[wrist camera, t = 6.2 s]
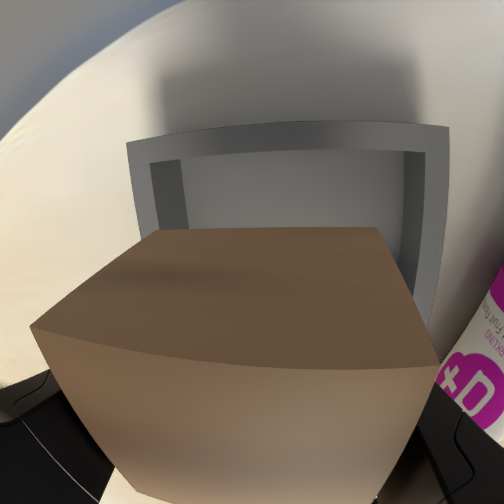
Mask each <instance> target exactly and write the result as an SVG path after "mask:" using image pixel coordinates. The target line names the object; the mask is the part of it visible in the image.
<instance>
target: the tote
mask: <svg viewBox="0 0 504 504" xmlns="http://www.w3.org/2000/svg"><path fill="white" fill-rule="evenodd" d="M126 146H127V154H128V162H129V169H130V176H131V183H132V190H133V196H134V202H135V208H136V214H137V219H138V225H139V230H140V235H141V240H142V239H144V238H145V237H147V236H148V235H150V234H151V233H152V232H154V231H155V230H175V229H211V228H262V227H377V228H378V230H379V232H380V234H381V236H382V237H383V239H384V241H385V243H386V245H387V247H388V249H389V251H390V252H391V254H392V256H393V258H394V260H395V262H396V264H397V266H398V268H399V270H400V272H401V274H402V276H403V278H404V280H405V282H406V285H407V287H408V289H409V291H410V293H411V295H412V297H413V300H414V302H415V304H416V306H417V308H418V311H419V313H420V315H421V317H422V320H423V322H424V324H425V327H426V329H427V327H428V323H429V319H430V315H431V310H432V306H433V301H434V296H435V291H436V286H437V281H438V275H439V269H440V263H441V257H442V250H443V242H444V234H445V225H446V215H447V203H448V187H449V127H444V126H435V125H425V124H413V123H398V122H378V121H300V122H279V123H264V124H251V125H240V126H230V127H221V128H212V129H204V130H197V131H190V132H183V133H176V134H170V135H164V136H158V137H153V138H147V139H142V140H137V141H132V142H127V143H126Z"/></svg>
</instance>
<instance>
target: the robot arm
mask: <svg viewBox="0 0 504 504" xmlns="http://www.w3.org/2000/svg"><path fill="white" fill-rule="evenodd" d="M114 468H115V466H114V465H113V463H112V462H111V461H110V460H109V458H108V457H107V456H106V454H105V453H104V452H103V451H102V449H101V448H100V447H99V445H98V444H97V443H96V441H95V440H94V438H93V437H92V436H91V434H90V433H89V431H88V430H87V429H86V427H85V426H84V424H83V423H82V421H81V420H80V418H79V417H78V415H77V414H76V412H75V410H74V409H73V407H72V406H71V404H70V403H69V401H68V399H67V398H66V396H65V394H64V393H63V391H62V389H61V388H60V386H59V384H58V382H57V381H56V379H55V377H54V375H53V373H52V372H51V370H50V369H48V370H46V371H44V372H42V373H39V374H37V375H35V376H33V377H30V378H28V379H26V380H23V381H21V382H18V383H15V384H13V385H10V386H7V387H5V388H2V389H0V504H99V503H98V502H100V500H101V497H102V495H103V493H104V491H105V488H106V486H107V484H108V482H109V479H110V477H111V475H112V473H113V471H114ZM371 504H504V448H503V447H502V446H501V445H499V444H498V443H497V442H496V441H495V440H494V439H493V438H492V437H490V436H489V435H488V434H487V433H486V432H485V431H484V430H483V429H482V428H481V427H480V426H479V425H478V424H477V423H476V422H475V421H474V420H473V419H472V418H471V417H470V416H469V415H468V414H467V413H466V412H465V411H463V409H462V408H461V407H460V406H459V405H458V404H457V403H456V402H455V401H454V400H453V399H452V398H451V397H450V396H449V395H448V394H447V393H446V392H445V391H444V390H443V389H442V388H441V387H440V386H439V385H438V384H437V383H436V382H434V385H433V387H432V390H431V392H430V395H429V397H428V399H427V402H426V404H425V406H424V409H423V411H422V413H421V415H420V418H419V420H418V422H417V424H416V426H415V428H414V430H413V432H412V434H411V436H410V438H409V440H408V442H407V444H406V446H405V448H404V450H403V452H402V454H401V455H400V457H399V459H398V461H397V463H396V464H395V466H394V468H393V470H392V471H391V473H390V475H389V477H388V478H387V480H386V481H385V483H384V485H383V486H382V488H381V490H380V491H379V493H378V494H377V498H375V499H374V500H373V502H372V503H371Z"/></svg>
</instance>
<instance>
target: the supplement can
mask: <svg viewBox="0 0 504 504" xmlns="http://www.w3.org/2000/svg"><path fill="white" fill-rule="evenodd" d="M435 382H436V383H437V384H438V385H439V386H440V387H441V388H442V389H443V390H444V391H445V392H446V393H447V394H448V395H449V396H450V397H451V398H452V399H453V400H454V401H455V402H456V403H457V404H458V405H459V406H460V407H461V408H462V409H463V411H465V412H466V413H467V414H468V415H469V416H470V417H471V418H472V419H473V420H474V421H475V422H476V423H477V424H478V425H479V426H480V427H481V428H482V429H483V430H484V431H485V432H486V433H487V434H488V435H489V436H490V437H492V438H493V439H494V440H495V441H496V442H497V443H499V442H500V441H501V440H502V439H503V438H504V261H503V264H502V266H501V268H500V270H499V272H498V274H497V276H496V277H495V279H494V281H493V283H492V285H491V287H490V289H489V291H488V292H487V294H486V296H485V298H484V299H483V301H482V303H481V305H480V306H479V308H478V310H477V311H476V313H475V315H474V316H473V318H472V320H471V321H470V323H469V324H468V326H467V327H466V329H465V331H464V332H463V334H462V335H461V337H460V338H459V340H458V341H457V343H456V344H455V345H454V347H453V348H452V350H451V351H450V353H449V354H448V355H447V357H446V358H445V359H444V361H443V362H442V364H441V366H440V369H439V372H438V374H437V377H436V380H435Z"/></svg>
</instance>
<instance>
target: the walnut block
mask: <svg viewBox="0 0 504 504" xmlns="http://www.w3.org/2000/svg"><path fill="white" fill-rule="evenodd" d="M29 327H30V329H31V331H32V333H33V336H34V338H35V340H36V342H37V344H38V346H39V348H40V350H41V352H42V354H43V356H44V358H45V360H46V362H47V364H48V366H49V368H50V370H51V372H52V373H53V375H54V377H55V379H56V381H57V382H58V384H59V386H60V388H61V389H62V391H63V393H64V394H65V396H66V398H67V399H68V401H69V403H70V404H71V406H72V407H73V409H74V410H75V412H76V414H77V415H78V417H79V418H80V420H81V421H82V423H83V424H84V426H85V427H86V429H87V430H88V431H89V433H90V434H91V436H92V437H93V438H94V440H95V441H96V443H97V444H98V445H99V447H100V448H101V449H102V451H103V452H104V453H105V454H106V456H107V457H108V458H109V460H110V461H111V462H112V463H113V465H114V466H115V467H116V468H117V469H118V471H119V472H120V473H121V474H122V475H123V477H124V478H125V479H126V480H127V481H128V482H129V484H130V485H131V486H132V487H133V488H134V489H135V490H136V491H137V492H139V493H142V494H145V495H147V496H150V497H153V498H156V499H159V500H163V501H166V502H169V503H172V504H371V503H372V502H373V500H374V499H375V497H376V496H377V494H378V493H379V491H380V490H381V488H382V486H383V485H384V483H385V481H386V480H387V478H388V477H389V475H390V473H391V471H392V470H393V468H394V466H395V464H396V463H397V461H398V459H399V457H400V455H401V454H402V452H403V450H404V448H405V446H406V444H407V442H408V440H409V438H410V436H411V434H412V432H413V430H414V428H415V426H416V424H417V422H418V420H419V418H420V415H421V413H422V411H423V409H424V406H425V404H426V402H427V399H428V397H429V395H430V392H431V390H432V387H433V385H434V382H435V380H436V377H437V374H438V372H439V369H440V366H441V364H440V362H439V359H438V356H437V354H436V351H435V349H434V346H433V344H432V341H431V339H430V336H429V334H428V332H427V329H426V327H425V324H424V322H423V320H422V317H421V315H420V313H419V311H418V308H417V306H416V304H415V302H414V300H413V297H412V295H411V293H410V291H409V289H408V287H407V285H406V282H405V280H404V278H403V276H402V274H401V272H400V270H399V268H398V266H397V264H396V262H395V260H394V258H393V256H392V254H391V252H390V251H389V249H388V247H387V245H386V243H385V241H384V239H383V237H382V236H381V234H380V232H379V230H378V228H377V227H262V228H211V229H175V230H155V231H154V232H152V233H151V234H150V235H148V236H147V237H145V238H144V239H142V240H141V241H140V242H138V243H137V244H135V245H134V246H132V247H131V248H130V249H128V250H127V251H125V252H124V253H123V254H121V255H120V256H119V257H117V258H116V259H114V260H113V261H112V262H110V263H109V264H108V265H106V266H105V267H104V268H102V269H101V270H100V271H98V272H97V273H96V274H94V275H93V276H92V277H90V278H89V279H88V280H86V281H85V282H84V283H82V284H81V285H80V286H78V287H77V288H76V289H75V290H73V291H72V292H71V293H69V294H68V295H67V296H66V297H64V298H63V299H62V300H61V301H59V302H58V303H57V304H56V305H54V306H53V307H52V308H51V309H49V310H48V311H47V312H46V313H45V314H43V315H42V316H41V317H40V318H38V319H37V320H36V321H35V322H34V323H32V324H31V325H30V326H29Z"/></svg>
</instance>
